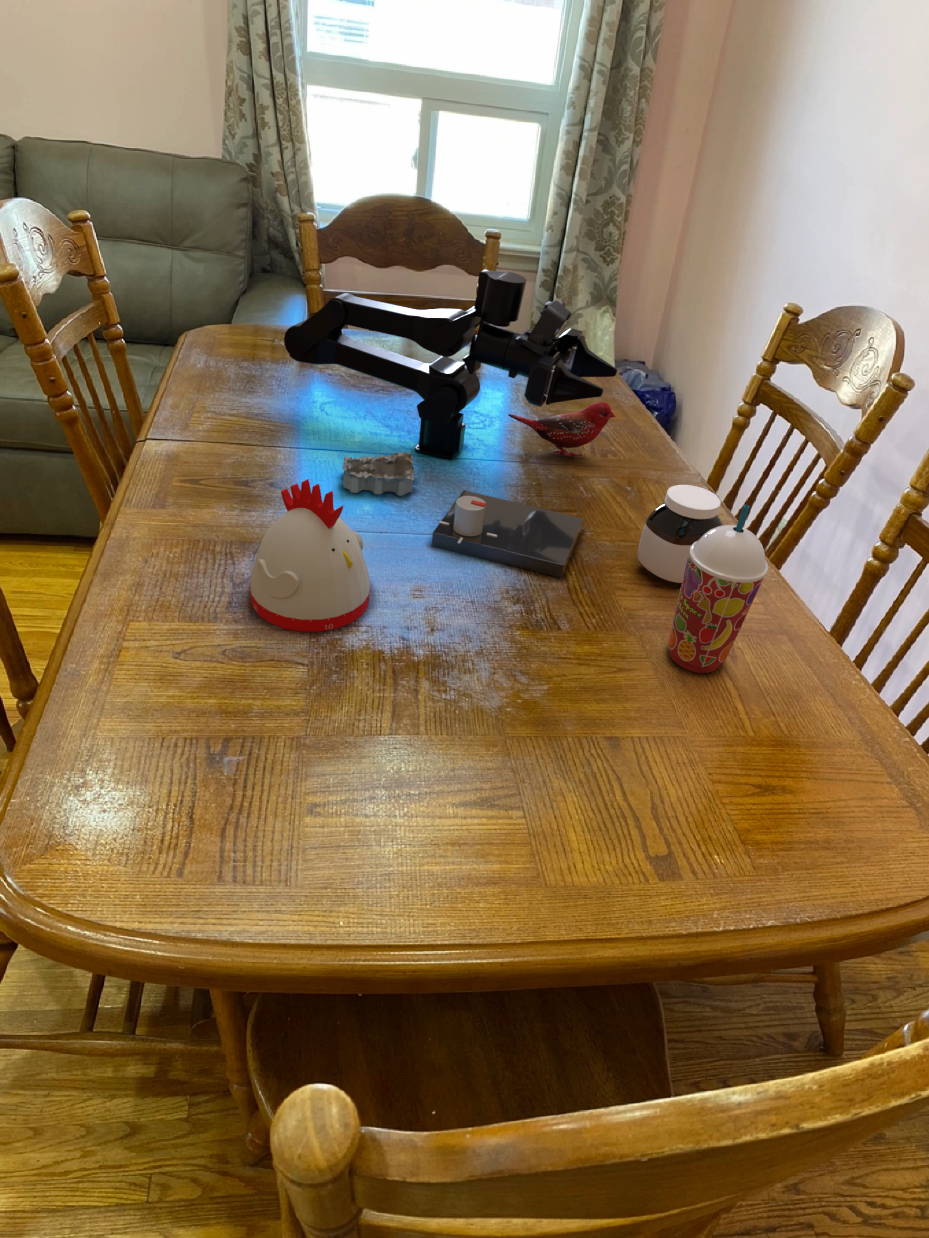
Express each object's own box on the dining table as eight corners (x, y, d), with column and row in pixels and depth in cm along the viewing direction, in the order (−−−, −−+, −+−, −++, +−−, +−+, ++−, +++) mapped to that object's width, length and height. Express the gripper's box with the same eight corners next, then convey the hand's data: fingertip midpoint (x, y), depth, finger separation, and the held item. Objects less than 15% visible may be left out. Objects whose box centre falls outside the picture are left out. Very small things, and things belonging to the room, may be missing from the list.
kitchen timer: (317, 647, 90) (317, 527, 81) (225, 600, 95) (216, 483, 86) (392, 593, 100) (399, 482, 91) (305, 553, 105) (304, 444, 97)
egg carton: (413, 476, 127) (415, 452, 124) (412, 499, 120) (414, 474, 118) (344, 470, 126) (344, 445, 123) (339, 492, 120) (340, 467, 117)
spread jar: (659, 595, 106) (683, 516, 99) (608, 552, 114) (627, 475, 107) (728, 580, 111) (755, 503, 105) (675, 539, 119) (697, 465, 112)
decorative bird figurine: (607, 464, 138) (620, 407, 132) (502, 453, 137) (511, 395, 131) (605, 457, 141) (617, 400, 135) (502, 445, 140) (510, 388, 134)
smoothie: (650, 635, 99) (695, 485, 87) (716, 637, 100) (769, 490, 88) (670, 680, 92) (721, 524, 80) (740, 682, 93) (801, 528, 81)
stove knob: (449, 532, 110) (452, 503, 107) (458, 519, 113) (461, 491, 110) (477, 539, 109) (481, 510, 106) (486, 526, 112) (489, 498, 109)
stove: (427, 548, 109) (429, 534, 108) (461, 501, 121) (463, 488, 120) (559, 582, 106) (562, 568, 105) (580, 530, 118) (583, 517, 117)
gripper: (501, 313, 111) (611, 347, 108) (540, 282, 125) (638, 311, 122) (485, 391, 118) (588, 424, 115) (524, 353, 132) (617, 382, 129)
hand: (609, 382), depth 120 cm, fingers open, 9 cm apart
